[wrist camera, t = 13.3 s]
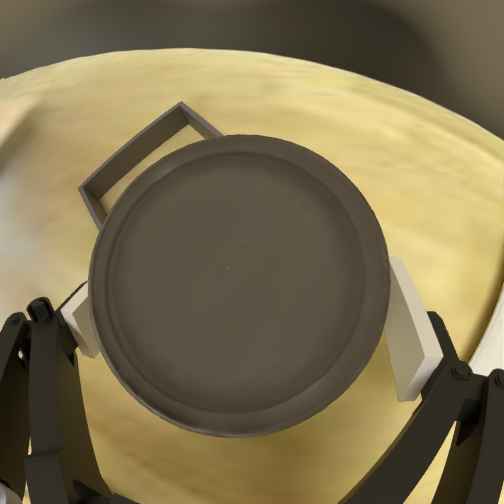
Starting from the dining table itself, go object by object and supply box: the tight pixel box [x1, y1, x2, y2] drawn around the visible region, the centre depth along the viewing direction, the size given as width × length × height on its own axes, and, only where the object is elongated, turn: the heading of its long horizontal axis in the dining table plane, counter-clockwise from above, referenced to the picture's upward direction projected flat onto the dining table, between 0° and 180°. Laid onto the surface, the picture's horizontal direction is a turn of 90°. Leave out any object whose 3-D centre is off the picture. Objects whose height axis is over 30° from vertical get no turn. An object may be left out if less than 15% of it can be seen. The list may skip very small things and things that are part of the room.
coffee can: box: [88, 134, 391, 438], centre depth 15 cm, size 10×10×14 cm
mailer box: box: [78, 101, 224, 232], centre depth 23 cm, size 28×14×3 cm, turn 40°
